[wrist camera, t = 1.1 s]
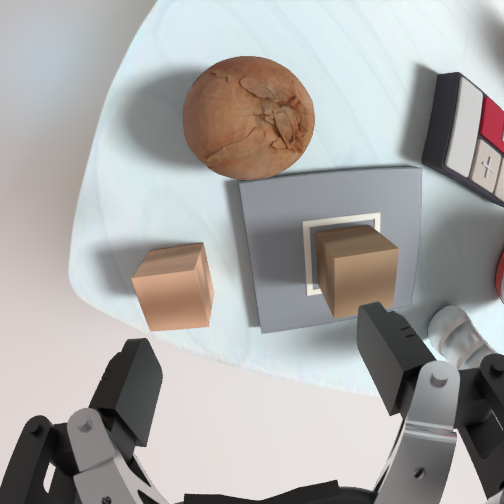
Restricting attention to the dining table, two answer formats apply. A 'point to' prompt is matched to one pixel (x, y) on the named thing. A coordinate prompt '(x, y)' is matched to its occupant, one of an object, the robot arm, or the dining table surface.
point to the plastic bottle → (457, 338)
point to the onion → (248, 118)
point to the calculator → (466, 137)
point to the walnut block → (355, 268)
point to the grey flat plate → (320, 219)
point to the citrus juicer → (500, 278)
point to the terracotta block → (175, 288)
